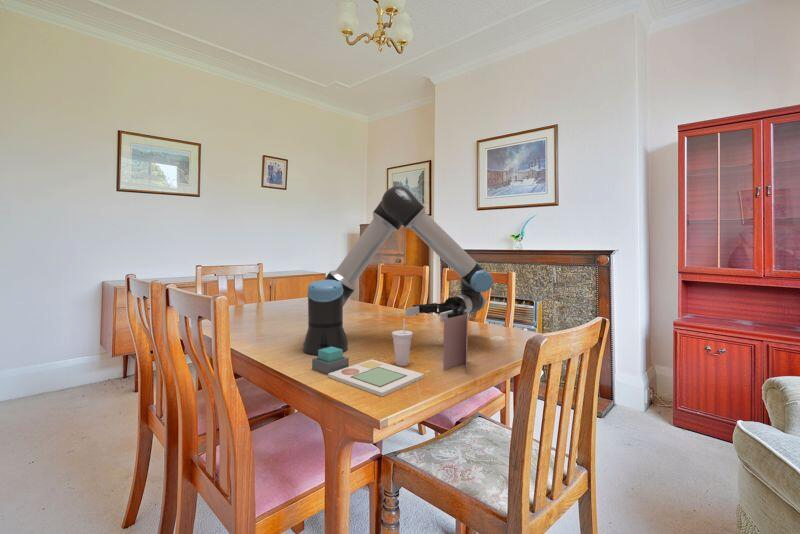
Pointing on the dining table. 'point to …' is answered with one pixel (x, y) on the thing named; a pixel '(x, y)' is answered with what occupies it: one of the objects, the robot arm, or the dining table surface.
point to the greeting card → (455, 341)
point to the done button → (330, 354)
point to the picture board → (376, 377)
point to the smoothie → (402, 345)
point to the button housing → (329, 365)
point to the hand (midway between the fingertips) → (422, 315)
